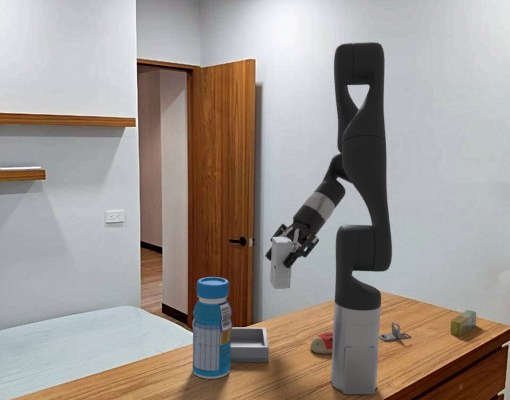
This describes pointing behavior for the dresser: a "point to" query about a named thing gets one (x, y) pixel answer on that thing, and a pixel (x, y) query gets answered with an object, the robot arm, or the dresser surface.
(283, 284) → the skincare box
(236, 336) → the gray open square tray
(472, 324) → the medication box
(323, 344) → the ladybug figurine
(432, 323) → the dresser surface
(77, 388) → the dresser surface
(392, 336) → the strap clip
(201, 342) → the beverage bottle
